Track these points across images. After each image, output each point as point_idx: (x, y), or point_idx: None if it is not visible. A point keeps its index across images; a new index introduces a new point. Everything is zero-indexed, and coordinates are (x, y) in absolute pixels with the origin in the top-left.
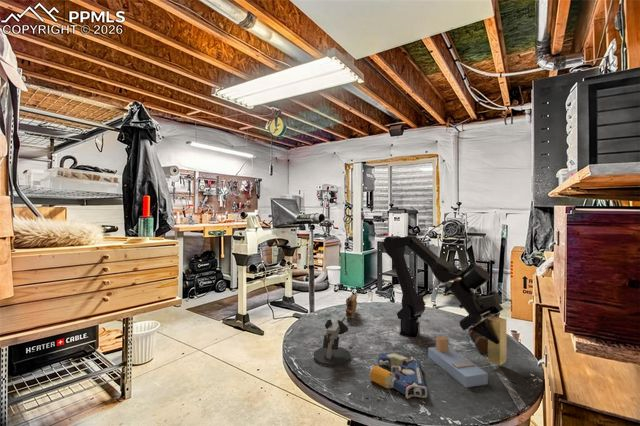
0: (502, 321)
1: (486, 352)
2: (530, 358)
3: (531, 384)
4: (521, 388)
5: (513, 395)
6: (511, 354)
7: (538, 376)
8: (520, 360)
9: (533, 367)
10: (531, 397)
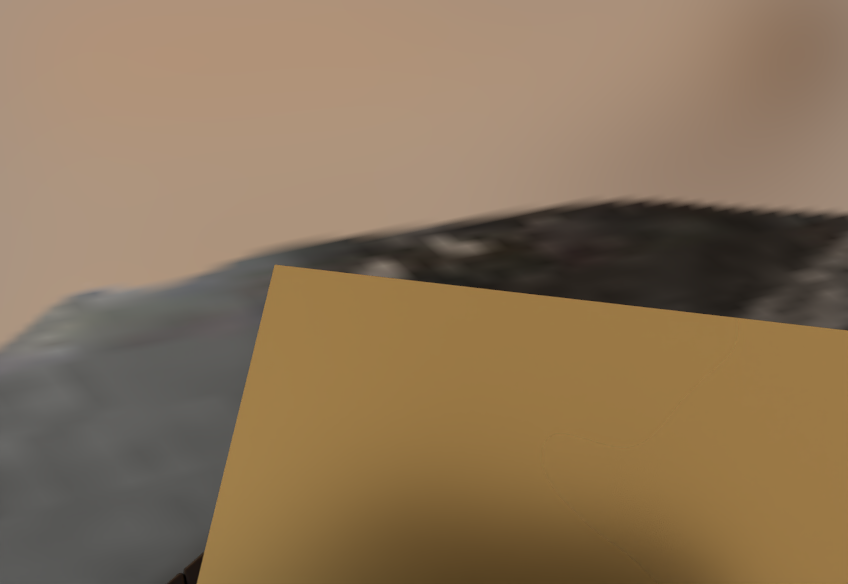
0: (800, 330)
1: None
2: (34, 344)
3: (555, 246)
4: (679, 285)
5: (832, 303)
6: (31, 513)
7: (378, 233)
8: (141, 404)
9: (229, 289)
10: (742, 214)
